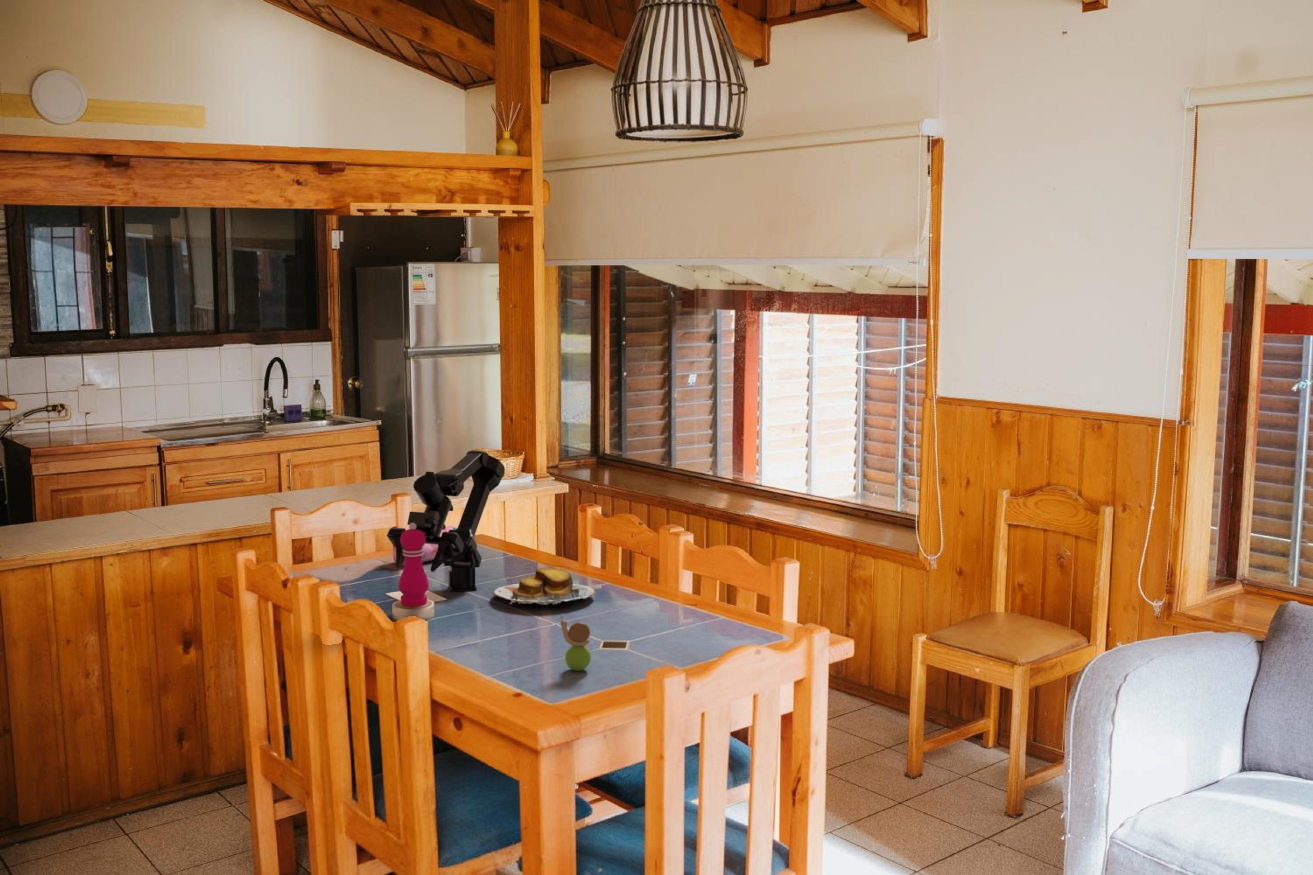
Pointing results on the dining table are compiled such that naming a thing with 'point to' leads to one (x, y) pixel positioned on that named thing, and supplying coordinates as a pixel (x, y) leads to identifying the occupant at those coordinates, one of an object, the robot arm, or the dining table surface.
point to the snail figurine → (576, 645)
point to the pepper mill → (413, 568)
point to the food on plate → (545, 588)
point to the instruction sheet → (430, 595)
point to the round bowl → (413, 610)
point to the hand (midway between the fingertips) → (414, 569)
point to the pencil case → (427, 549)
